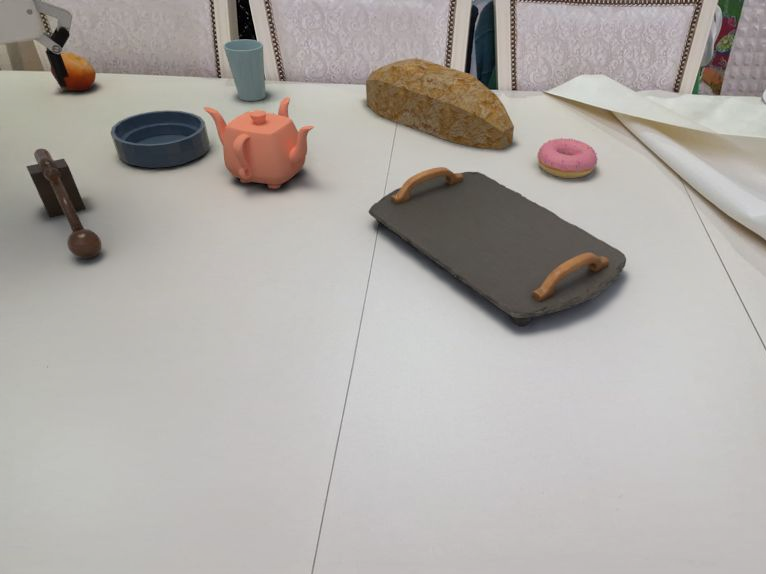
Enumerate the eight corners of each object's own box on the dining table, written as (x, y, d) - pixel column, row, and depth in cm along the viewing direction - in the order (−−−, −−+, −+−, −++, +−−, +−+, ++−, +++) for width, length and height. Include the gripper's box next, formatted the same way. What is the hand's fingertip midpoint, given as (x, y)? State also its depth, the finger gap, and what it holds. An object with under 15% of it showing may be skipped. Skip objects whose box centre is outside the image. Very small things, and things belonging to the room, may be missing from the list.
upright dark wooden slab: (85, 208, 95) (68, 166, 90) (49, 217, 93) (29, 174, 88) (81, 200, 97) (64, 158, 92) (45, 208, 94) (26, 165, 90)
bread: (352, 106, 131) (349, 56, 124) (387, 93, 138) (385, 45, 131) (490, 156, 116) (494, 102, 109) (521, 138, 123) (527, 87, 116)
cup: (278, 95, 133) (270, 44, 126) (251, 106, 128) (241, 53, 121) (254, 87, 136) (244, 37, 129) (226, 97, 131) (215, 45, 124)
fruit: (47, 77, 131) (56, 41, 127) (90, 94, 136) (99, 60, 132) (43, 90, 125) (52, 53, 122) (87, 107, 130) (97, 72, 127)
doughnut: (605, 167, 115) (610, 145, 112) (576, 187, 108) (580, 165, 105) (555, 150, 119) (558, 129, 117) (524, 168, 113) (527, 147, 110)
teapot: (216, 166, 108) (201, 102, 100) (296, 153, 113) (288, 92, 106) (235, 203, 98) (221, 136, 91) (322, 187, 104) (314, 122, 96)
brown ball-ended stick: (109, 258, 85) (85, 200, 79) (77, 267, 84) (50, 208, 78) (76, 198, 97) (53, 143, 91) (48, 205, 95) (22, 149, 89)
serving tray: (355, 217, 97) (352, 181, 93) (466, 178, 109) (467, 144, 104) (529, 347, 76) (535, 307, 72) (642, 281, 88) (653, 244, 84)
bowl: (114, 174, 104) (105, 148, 101) (124, 137, 114) (116, 113, 111) (209, 166, 107) (203, 141, 104) (210, 131, 118) (205, 108, 115)
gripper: (35, -77, 75) (86, 71, 86) (-146, -70, 66) (-63, 92, 78) (47, -66, 70) (100, 87, 82) (-145, -58, 62) (-57, 112, 74)
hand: (20, 89), depth 80 cm, fingers open, 9 cm apart
